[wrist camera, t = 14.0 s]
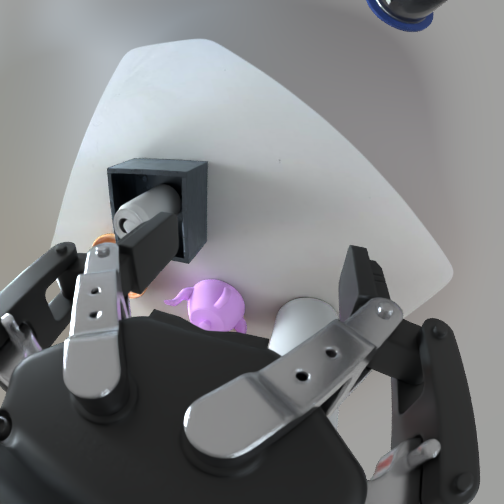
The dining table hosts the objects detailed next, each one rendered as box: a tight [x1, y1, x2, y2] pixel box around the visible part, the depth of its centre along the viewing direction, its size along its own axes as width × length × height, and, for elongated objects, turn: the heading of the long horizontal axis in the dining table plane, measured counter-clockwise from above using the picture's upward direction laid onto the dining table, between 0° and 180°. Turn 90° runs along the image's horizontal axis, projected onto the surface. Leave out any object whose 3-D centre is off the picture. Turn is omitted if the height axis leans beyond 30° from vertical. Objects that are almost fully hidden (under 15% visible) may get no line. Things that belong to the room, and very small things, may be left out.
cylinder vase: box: [269, 298, 338, 430], centre depth 42 cm, size 12×12×25 cm
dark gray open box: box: [107, 158, 208, 264], centre depth 44 cm, size 15×15×8 cm
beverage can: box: [113, 184, 181, 239], centre depth 41 cm, size 6×6×12 cm
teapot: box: [164, 279, 247, 334], centre depth 51 cm, size 12×14×9 cm
